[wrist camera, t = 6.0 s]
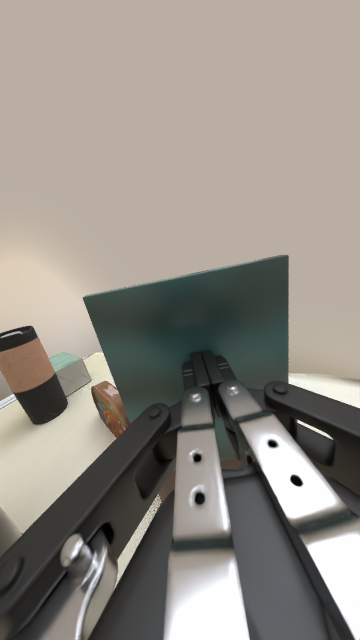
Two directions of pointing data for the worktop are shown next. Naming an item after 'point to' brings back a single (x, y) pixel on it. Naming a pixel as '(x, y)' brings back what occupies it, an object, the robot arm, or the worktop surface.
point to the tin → (110, 407)
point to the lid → (194, 332)
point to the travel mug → (31, 375)
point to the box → (70, 372)
